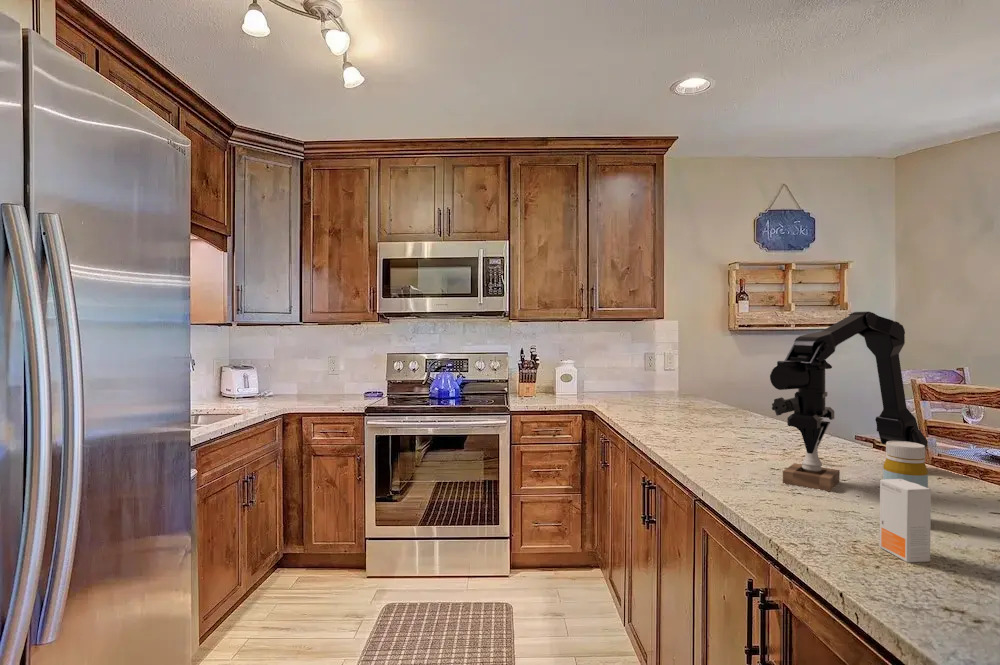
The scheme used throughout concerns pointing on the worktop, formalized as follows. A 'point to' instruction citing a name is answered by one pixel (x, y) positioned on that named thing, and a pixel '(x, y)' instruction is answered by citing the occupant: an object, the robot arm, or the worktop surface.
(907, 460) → the bottle
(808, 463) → the rook chess piece
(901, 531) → the skincare box
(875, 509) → the worktop surface
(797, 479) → the socket
